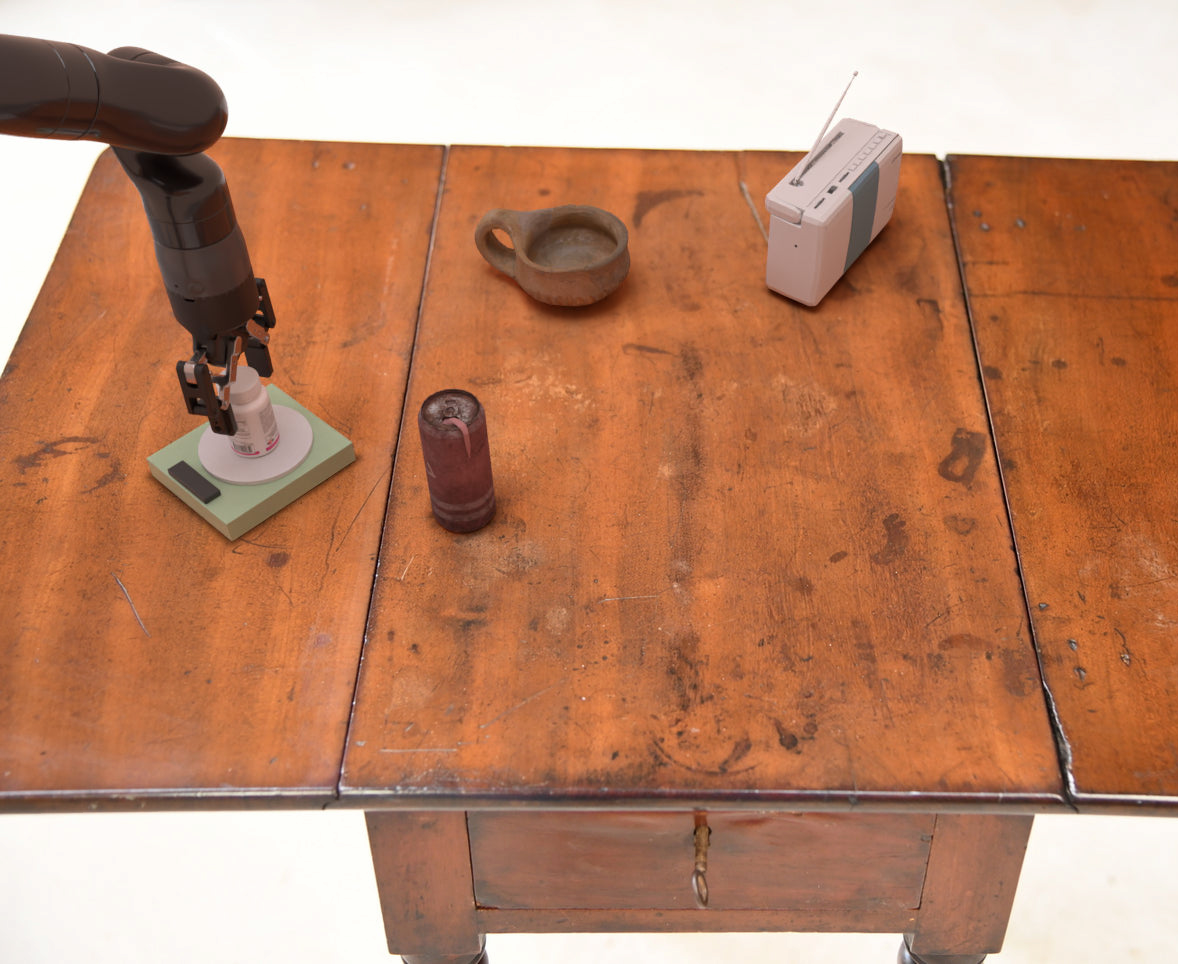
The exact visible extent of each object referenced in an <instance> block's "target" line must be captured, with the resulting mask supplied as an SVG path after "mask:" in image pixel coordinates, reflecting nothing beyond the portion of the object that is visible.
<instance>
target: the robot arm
mask: <svg viewBox="0 0 1178 964" xmlns="http://www.w3.org/2000/svg"><path fill="white" fill-rule="evenodd" d="M228 121H229V105H228V100H227V98H226V95H225V93H224V91H223V89H222V88H221V86H220V85H219V83H218V82H217V81H216V80H215V79H214V78H213V77H212V76H210V75H209V74H208V73H206V72H205V71H203V70H201V69H199V68H197V67H194V66H191V65H190V64H187V63H184V62H181V61H178V60H176V59H173V58H170V57H168V56H165V55H163V54H160V53H158V52H155V51H152V50H150V49H146V48H143V47H138V46H133V45H125V46H119V47H116V48H113V49H111V50H109V51H108V52H107V53H104V52H102V51H99V50H96V49H93V48H91V47H87V46H84V45H82V44H81V45H80V44H76V43H73V42H67V41H60V40H59V41H58V40H51V39H44V38H38V37H30V36H22V35H15V34H8V33H0V135H1V136H7V137H14V138H24V139H25V138H26V139H36V140H37V139H38V140H50V141H51V140H52V141H54V140H55V141H66V142H67V141H68V142H69V141H70V142H79V141H84V142H85V141H86V142H95V143H101V144H106V145H109V147H110V149H111V150H112V152H113V154H114V156H115V157H116V159H117V161H118V163H119V164H120V166H121V167H122V169H123V171H124V172H125V175H126V176H127V177H128V178H129V180H130V181H131V182H132V184H133V185H134V187H135V189H136V190H137V191H138V193H139V196H140V200H141V203H142V207H143V210H144V214H145V216H146V220H147V223H148V226H149V229H150V230H149V231H150V233H151V236H152V237H151V238H152V240H153V248H154V249H153V250H154V254H155V258H156V259H155V260H156V262H157V266H158V268H159V272H160V275H161V278H162V281H163V285H164V287H165V292H166V295H167V297H168V301H169V303H170V307H171V310H172V314H173V317H174V318H175V320H176V322H177V323H178V324H179V325H180V326H182V327H183V328H184V329H185V330H186V331H187V332H188V333H189V334H190V335H191V338H192V352H193V354H192V355H191V357H190V358H189V359H188V360H181V359H179V360H178V361H177V362H176V365H175V372H176V375H177V379H178V382H179V385H180V389H181V391H182V392H181V393H182V396H183V399H184V403H185V406H186V410H187V413H188V414H189V415H192V416H201V417H207V418H208V421H209V423H210V426H211V429H212V431H213V432H214V433H217V434H221V435H227V436H234V435H235V434H236V432H237V430H238V427H237V424H236V420H235V417H234V413H233V410H232V406H231V403H229V398H230V386H231V385H232V384H234V383H235V382H236V375H237V366H238V361H239V359H240V357H241V355H242V354H243V353H244V357H245V360H246V364H247V365H246V366H249V367H251V368H253V369H255V370H256V371H257V373H258V375H259V378H260V377H261V378H265V379H266V378H267V379H270V378H271V376H272V375H273V373H275V372H274V371H275V370H274V367H273V363H272V357H271V353H270V350H269V347H268V346H269V344H270V341H271V335H270V333H269V330H270V329H275V327H276V324H277V318H276V315H275V310H274V306H273V304H272V301H271V296H270V292H269V289H268V286H267V282H266V279H265V278H262V277H256V276H255V274H254V271H253V270H254V269H253V265H252V262H251V258H250V254H249V250H248V246H247V242H246V239H245V236H244V234H243V231H242V229H241V226H240V224H239V222H238V219H237V216H236V215H237V214H236V211H235V208H234V203H233V200H232V199H233V198H232V196H231V192H230V188H229V185H228V181H227V178H226V175H225V173H224V170H223V168H222V167H221V166H220V165H219V164H218V163H217V161H215V160H214V159H213V158H212V157H211V156H210V155H208V154H206V153H205V151H207V150H209V149H210V148H212V147H213V146H214V145H215V144H216V143H217V142H218V141H219V140H220V138H221V137H222V136H223V135H224V133H225V131H226V129H227V125H228ZM258 311H259V312H261V313H262V314H261V313H257V312H258ZM209 365H210V366H212V367H216V368H224V369H226V371H225V374H224V375H222V374H220V373H216V372H213V371H212V370H210V368H209ZM214 384H215V385H216V384H218V385H219V387H220V388H219V394H217V393H216V391H215V387H214ZM218 395H219V396H218Z"/></svg>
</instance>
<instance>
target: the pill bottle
mask: <svg viewBox="0 0 1178 964" xmlns="http://www.w3.org/2000/svg"><path fill="white" fill-rule="evenodd" d="M225 371H226V368H224V369H223V370H222V371H221V372H220V373H219V374H222V375H224V374H225ZM265 387H266V386H265V385H263V383H262V381H261V378H260V377H259V375H258V373H257V371H256V370H255V369H253V368H251V367H249V366H248V365H237V375H236V382H235V383H234V384H232V385H231V386H230V398H229V403H231V406H232V410H233V413H234V417H235V420H236V424H237V427H238V430H237V432H236V434H235V435H234V436H228V439H229V443H230V445H231V448H232V450H233V451H234V452H235V453H236V454H238V455H240V456H242V457H247V458H254V457H259V456H263V455H265V454H267V453H269V452H271V451H272V450H273V449H274V448H275V447H276V446H277V444H278V442H279V431H278V427H277V423H276V419H275V416H274V412H273V409H272V405H271V401H270V398H269V394H268V392H267V389H266V388H265ZM215 388H216V392H217V396H219V388H220V387H219V385H218V384H216V383H215Z"/></svg>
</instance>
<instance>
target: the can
mask: <svg viewBox="0 0 1178 964" xmlns="http://www.w3.org/2000/svg"><path fill="white" fill-rule="evenodd" d="M486 416H487V415H486V410H485V408H484V406H483V404H482V403H481V401H479V398H478V397H477V396H476V395H475V394H473V393H472V392H471V391H468V390H465V389H460V388H445V389H441V390H438V391H435V392H433V393H432V394H429V395H428V396H427V397H426V398H425V399H424V400H423V401H422V403H421V406H420V409H419V411H418V414H417V426H418V432H419V438H420V444H421V451H422V456H423V463H424V468H425V474H426V480H427V487H428V493H429V498H430V504H431V510H432V515H433V517H434V519H435V521H436V522H437V523H438V524H439V525H440V526H441V527H443V528H444V529H446V530H449V531H450V532H455V533H460V534H461V533H470V532H474V531H477V530H480V529H481V528H482V527H484V526H486V525H487V524H488V523H489V522H490V520H491V519H492V518H493V517H494V514H495V512H496V509H497V508H496V507H497V506H496V504H497V503H496V494H495V487H494V486H495V484H494V478H493V477H494V476H493V469H492V461H491V451H490V441H489V434H488V433H489V432H488V425H487V417H486Z"/></svg>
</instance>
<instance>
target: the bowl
mask: <svg viewBox="0 0 1178 964" xmlns="http://www.w3.org/2000/svg"><path fill="white" fill-rule="evenodd" d="M493 230H501V231H502V232H504V233H506V235H508V237H509V239H510V241H511V244H512V247H513V248H511V247H508V246H507V245H505V244H504V243H502V241H500V240H499V239H498V237H497V236H496V235H495V233H494V231H493ZM474 243H475V245H476V246H475V247H476V249H477V250H478V252H479V254H480V255H481V256H482V258H483V259H484V261H486V262H487V263H488V264H489V265H490V266H492V267H493V268H494V269H495V270H497V271H498V272H501V273H503V274H504V275H507V276H508V277H509V278H512V279H513V280H514V281H515V282H516V283H517V284H518V286H520V287H521V289H522V290H523V291H524V292H525V293H526V294H527V295H529V296H531V298H532V299H534V300H537V301H539V302H541V303H544V304H545V303H546V304H548V305H551V306H565V307H580V306H588V305H592V304H594V303H597V302H598V301H603V300H604V299H605V298H606V297H607V296H610V295H611V294H613V293H614V292H615V290H617V289H619V287H620V285H621V284H622V283H623V282H624V281H625V279H626V278H627V277H628V275H629V273H630V268H631V256H630V255H631V254H630V251H629V247H628V244H629V231H628V228H627V226H626V224H625V223H624V222H623V221H622V220H621V219H620V218H619V217H618V216H617V215H616V214H614V213H612V212H611V211H608V210H604V209H602V208H599V207H596V206H593V205H587V204H579V205H576V204H574V203H568V204H566V205H559V206H554V207H551V208H550V207H549V208H548V207H547V208H539V209H532V210H523V211H522V210H514V209H510V208H509V209H507V208H499V207H498V208H493V209H490V210H488V211H486V213H485V214H484V215H483V216H482V217H481V219H480V220H479V222H478V223H477V224H476V227H475V231H474Z"/></svg>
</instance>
